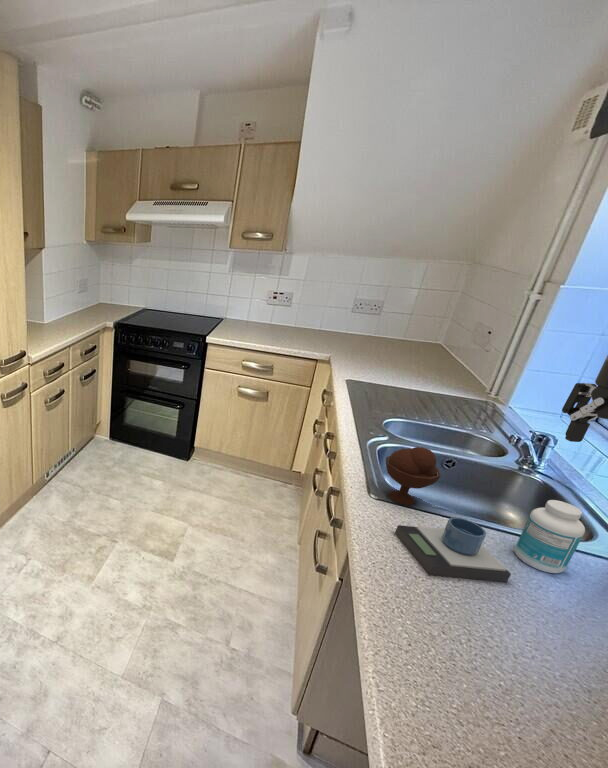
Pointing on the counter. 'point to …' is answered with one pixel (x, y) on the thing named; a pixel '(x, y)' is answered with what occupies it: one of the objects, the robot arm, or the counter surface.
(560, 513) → the pill bottle
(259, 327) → the counter surface
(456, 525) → the blue cup
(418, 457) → the ice cream bowl
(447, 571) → the kitchen scale
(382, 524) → the counter surface
